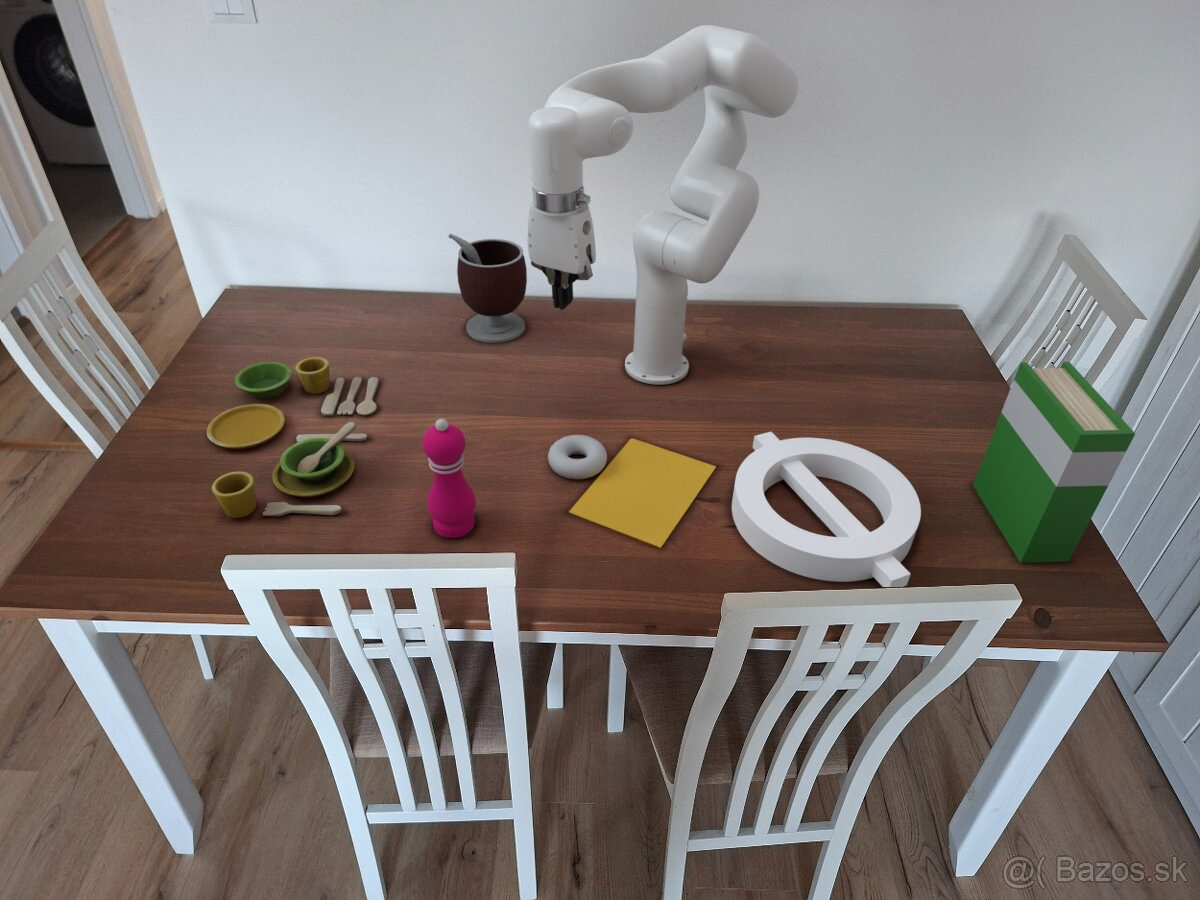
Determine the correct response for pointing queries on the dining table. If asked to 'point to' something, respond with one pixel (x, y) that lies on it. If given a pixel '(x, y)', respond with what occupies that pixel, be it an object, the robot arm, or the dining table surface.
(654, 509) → the cloth
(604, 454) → the donut
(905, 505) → the ring with crossbar
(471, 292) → the mate gourd
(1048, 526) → the hardback book
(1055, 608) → the dining table surface
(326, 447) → the tableware set
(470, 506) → the pepper mill
